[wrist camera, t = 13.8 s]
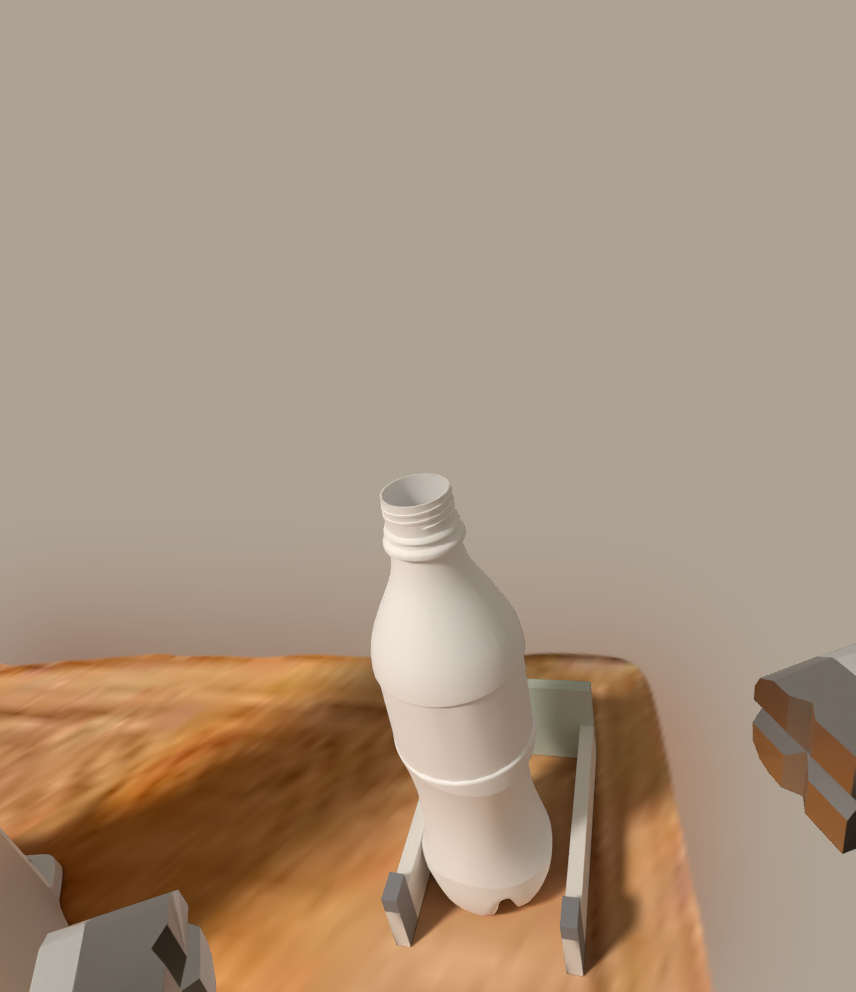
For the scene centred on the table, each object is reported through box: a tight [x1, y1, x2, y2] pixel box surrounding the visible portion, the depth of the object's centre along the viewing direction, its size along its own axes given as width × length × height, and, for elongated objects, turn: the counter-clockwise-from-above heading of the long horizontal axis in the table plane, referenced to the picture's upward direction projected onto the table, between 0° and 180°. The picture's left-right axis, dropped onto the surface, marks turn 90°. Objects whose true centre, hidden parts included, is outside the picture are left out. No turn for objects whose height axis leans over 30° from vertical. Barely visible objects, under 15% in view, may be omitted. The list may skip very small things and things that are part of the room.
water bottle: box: [371, 473, 552, 916], centre depth 35 cm, size 7×7×25 cm
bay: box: [381, 679, 597, 976], centre depth 41 cm, size 10×14×6 cm
